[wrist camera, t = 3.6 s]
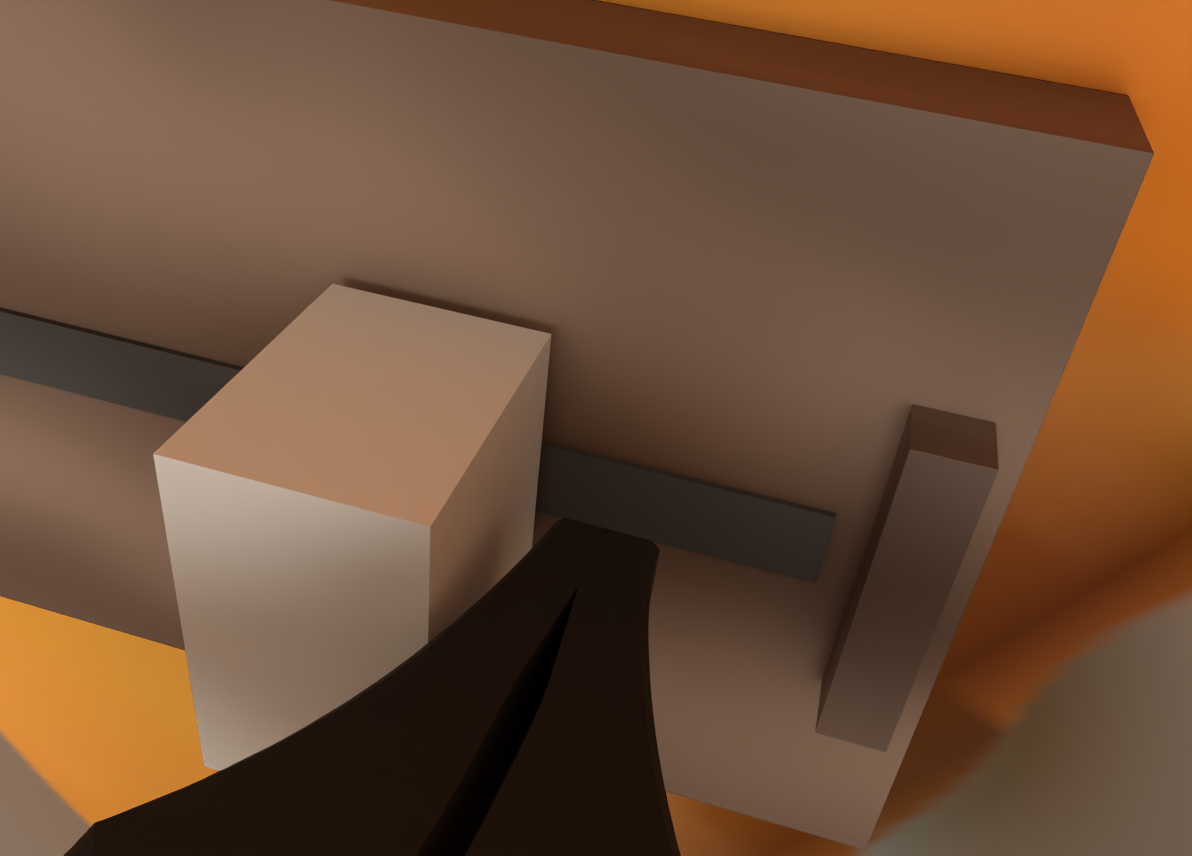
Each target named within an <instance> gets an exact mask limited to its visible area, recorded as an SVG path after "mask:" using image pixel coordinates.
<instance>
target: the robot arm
mask: <svg viewBox="0 0 1192 856" xmlns="http://www.w3.org/2000/svg"><path fill="white" fill-rule="evenodd" d="M659 553H660V550H659V548H658V547H657V546H656V544H655V543H654V542H653V541H652V540H648V539H645V538H641V537H637V536H633V535H629V534H625V533H622V532H618V531H614V530H610V529H606V528H602V527H599V526H595V525H591V524H587V523H583V522H579V521H576V520H572V519H568V518H563V519H561V520H559V521H557V522H555V523H554V524H553V525H552V526H551V528H550V529H549V530H548V531H547V532H546V533H545V535H544V536H543V537H542V538H541V539H540V540H539V541H538V542H537V543H536V544H535V546H534V547H533V548H532V549H531V550H530V551H529V552H528V553H527V554H526V555H525V556H524V557H523V558H522V559H521V560H520V561H519V562H518V563H517V564H516V565H515V566H514V567H513V568H512V569H511V570H510V571H509V572H508V573H507V574H506V575H505V576H504V577H503V578H502V579H501V580H500V581H499V582H498V583H497V584H496V585H495V586H493V587H492V588H491V589H490V590H489V591H488V592H487V593H486V594H485V595H484V596H482V597H481V598H480V599H479V600H478V601H477V602H476V603H475V604H474V605H473V606H472V607H470V608H469V609H468V610H467V611H466V612H465V613H464V614H463V615H461V616H460V617H459V618H458V619H457V620H456V621H455V622H453V623H452V624H451V625H450V626H448V627H447V628H446V629H445V630H443V631H442V632H441V633H440V634H438V635H437V636H436V637H435V638H433V639H432V640H431V641H430V642H428V643H427V644H426V645H425V646H424V647H422V648H421V649H420V650H419V651H417V652H416V653H415V654H414V655H412V656H411V657H410V658H408V659H407V660H406V661H404V662H403V663H402V664H400V665H399V666H398V667H396V668H395V669H393V670H392V671H391V672H389V673H388V674H387V675H385V676H384V677H382V678H381V679H379V680H378V681H377V682H375V683H374V684H372V685H371V686H369V687H368V688H366V689H365V690H363V691H362V692H360V693H359V694H357V695H356V696H354V697H353V698H351V699H350V700H348V701H347V702H345V703H343V704H342V705H340V706H338V707H337V708H335V709H333V710H332V711H330V712H329V713H327V714H325V715H324V716H322V717H320V718H319V719H317V720H315V721H314V722H312V723H310V724H309V725H307V726H305V727H304V728H302V729H300V730H298V731H297V732H295V733H293V734H291V735H290V736H288V737H286V738H284V739H282V740H281V741H279V742H277V743H275V744H273V745H271V746H269V747H267V748H265V749H263V750H261V751H259V752H257V753H255V754H253V755H251V756H249V757H247V758H245V759H243V760H241V761H239V762H237V763H235V764H233V765H231V766H229V767H227V768H225V769H223V770H221V771H219V772H217V773H215V774H213V775H211V776H209V777H206V778H204V779H202V780H200V781H198V782H196V783H193V784H191V785H189V786H187V787H184V788H182V789H180V790H177V791H175V792H172V793H170V794H167V795H165V796H162V797H160V798H157V799H155V800H152V801H150V802H147V803H145V804H142V805H140V806H137V807H135V808H132V809H130V810H127V811H125V812H123V813H120V814H118V815H115V816H113V817H110V818H107V819H104V820H101V821H99V822H96V823H94V824H93V825H92V826H91V827H90V828H89V830H88V831H87V832H86V833H85V834H84V835H83V836H82V837H81V838H80V839H79V840H78V841H77V842H76V844H75V845H74V846H73V847H72V848H71V849H70V850H69V851H68V852H66V853H65V855H64V856H681V855H680V852H679V848H678V844H677V841H676V837H675V832H674V828H673V823H672V819H671V815H670V810H669V806H668V801H667V796H666V791H665V786H664V781H663V775H662V770H661V764H660V758H659V752H658V745H657V739H656V731H655V723H654V714H653V706H652V695H651V683H650V664H649V640H648V635H649V605H650V600H651V595H652V589H653V584H654V579H655V574H656V568H657V563H658V558H659Z"/></svg>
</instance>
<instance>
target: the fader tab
mask: <svg viewBox="0 0 1192 856" xmlns="http://www.w3.org/2000/svg"><path fill="white" fill-rule="evenodd" d="M550 344H551V334H549V333H545V332H541V331H536V330H532V329H528V328H523V327H519V326H514V325H510V324H506V323H501V322H497V321H493V320H488V319H484V318H480V317H475V316H471V315H467V314H462V313H458V312H454V311H449V310H445V309H441V308H436V307H432V306H427V305H423V304H419V303H414V302H410V301H406V300H401V299H397V298H393V297H388V296H384V295H380V294H375V293H371V292H367V291H362V290H358V289H353V288H349V287H345V286H340V285H336V284H332V285H331V286H330V287H328V288H327V289H326V290H325V291H324V292H323V293H322V294H321V295H320V296H319V297H318V298H317V299H316V300H315V301H314V302H313V303H312V304H311V305H309V306H308V307H307V308H306V309H305V310H304V311H303V312H302V313H301V314H300V315H299V316H298V317H297V318H296V319H295V320H294V321H293V322H292V323H291V324H289V325H288V326H287V327H286V328H285V329H284V330H283V331H282V332H281V333H280V334H279V335H278V336H277V337H276V338H275V339H274V340H273V341H272V342H270V343H269V344H268V345H267V346H266V347H265V348H264V349H263V350H262V351H261V352H260V353H259V354H258V355H257V356H256V357H255V358H254V359H253V360H251V361H250V362H249V363H248V364H247V365H246V366H245V367H244V368H243V369H242V370H241V371H240V372H239V373H238V374H237V375H236V376H235V377H234V378H233V379H231V380H230V381H229V382H228V383H227V384H226V385H225V386H224V387H223V388H222V389H221V390H220V391H219V392H218V393H217V394H216V395H215V396H214V397H212V398H211V399H210V400H209V401H208V402H207V403H206V404H205V405H204V406H203V407H202V408H201V409H200V410H199V411H198V412H197V413H196V414H195V415H193V416H192V417H191V418H190V419H189V420H188V421H187V422H186V423H185V424H184V425H183V426H182V427H181V428H180V429H179V430H178V431H177V432H176V433H175V434H173V435H172V436H171V437H170V438H169V439H168V440H167V441H166V442H165V443H164V444H163V445H162V446H161V447H160V448H159V449H158V450H157V451H156V452H154V453H153V456H154V462H155V468H156V475H157V481H158V487H159V493H160V499H161V505H162V511H163V517H164V523H165V529H166V536H167V542H168V548H169V554H170V560H171V566H172V572H173V578H174V584H175V591H176V597H177V603H178V609H179V615H180V621H181V627H182V633H183V639H184V645H185V652H186V658H187V664H188V670H189V676H190V682H191V688H192V694H193V700H194V707H195V713H196V719H197V725H198V731H199V737H200V743H201V749H202V755H203V761H204V766H205V767H208V768H212V769H215V770H218V771H221V770H223V769H225V768H227V767H229V766H231V765H233V764H235V763H237V762H239V761H241V760H243V759H245V758H247V757H249V756H251V755H253V754H255V753H257V752H259V751H261V750H263V749H265V748H267V747H269V746H271V745H273V744H275V743H277V742H279V741H281V740H282V739H284V738H286V737H288V736H290V735H291V734H293V733H295V732H297V731H298V730H300V729H302V728H304V727H305V726H307V725H309V724H310V723H312V722H314V721H315V720H317V719H319V718H320V717H322V716H324V715H325V714H327V713H329V712H330V711H332V710H333V709H335V708H337V707H338V706H340V705H342V704H343V703H345V702H347V701H348V700H350V699H351V698H353V697H354V696H356V695H357V694H359V693H360V692H362V691H363V690H365V689H366V688H368V687H369V686H371V685H372V684H374V683H375V682H377V681H378V680H379V679H381V678H382V677H384V676H385V675H387V674H388V673H389V672H391V671H392V670H393V669H395V668H396V667H398V666H399V665H400V664H402V663H403V662H404V661H406V660H407V659H408V658H410V657H411V656H412V655H414V654H415V653H416V652H417V651H419V650H420V649H421V648H422V647H424V646H425V645H426V644H427V643H428V642H430V641H431V640H432V639H433V638H435V637H436V636H437V635H438V634H440V633H441V632H442V631H443V630H445V629H446V628H447V627H448V626H450V625H451V624H452V623H453V622H455V621H456V620H457V619H458V618H459V617H460V616H461V615H463V614H464V613H465V612H466V611H467V610H468V609H469V608H470V607H472V606H473V605H474V604H475V603H476V602H477V601H478V600H479V599H480V598H481V597H482V596H484V595H485V594H486V593H487V592H488V591H489V590H490V589H491V588H492V587H493V586H495V585H496V584H497V583H498V582H499V581H500V580H501V579H502V578H503V577H504V576H505V575H506V574H507V573H508V572H509V571H510V570H511V569H512V568H513V567H514V566H515V565H516V564H517V563H518V562H519V561H520V560H521V559H522V558H523V557H524V556H525V555H526V554H527V553H528V552H529V551H530V550H531V549H532V540H533V529H534V518H535V508H536V497H537V486H538V475H539V464H540V453H541V442H542V431H543V421H544V410H545V399H546V388H547V377H548V366H549V355H550Z"/></svg>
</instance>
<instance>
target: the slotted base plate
mask: <svg viewBox="0 0 1192 856" xmlns="http://www.w3.org/2000/svg"><path fill="white" fill-rule="evenodd" d="M1153 155H1154V152H1153V150H1152V148H1151V146H1150V143H1149V141H1148V139H1147V137H1146V134H1145V132H1144V130H1143V128H1142V125H1141V123H1140V121H1139V119H1138V116H1137V114H1136V112H1135V109H1134V107H1133V105H1132V103H1131V100H1130V98H1129V96H1127V95H1121V94H1115V93H1110V92H1104V91H1099V90H1093V89H1087V88H1082V87H1076V86H1071V85H1065V84H1059V83H1054V82H1048V81H1043V80H1037V79H1031V78H1026V77H1020V76H1015V75H1009V74H1003V73H998V72H992V71H987V70H981V69H975V68H970V67H964V66H959V65H953V64H947V63H942V62H936V61H931V60H925V59H919V58H914V57H908V56H903V55H897V54H891V53H886V52H880V51H875V50H869V49H863V48H858V47H852V46H847V45H841V44H835V43H830V42H824V41H819V40H813V39H807V38H802V37H796V36H791V35H785V34H779V33H774V32H768V31H763V30H757V29H751V28H746V27H740V26H735V25H729V24H723V23H718V22H712V21H707V20H701V19H695V18H690V17H684V16H679V15H673V14H667V13H662V12H656V11H651V10H645V9H639V8H634V7H628V6H623V5H617V4H611V3H606V2H600V1H595V0H0V596H2V597H5V598H8V599H12V600H15V601H19V602H22V603H25V604H29V605H32V606H36V607H39V608H42V609H46V610H49V611H53V612H56V613H59V614H63V615H66V616H70V617H73V618H77V619H80V620H83V621H87V622H90V623H94V624H97V625H100V626H104V627H107V628H111V629H114V630H117V631H121V632H124V633H128V634H131V635H134V636H138V637H141V638H145V639H148V640H151V641H155V642H158V643H162V644H165V645H169V646H172V647H175V648H179V649H182V650H185V645H184V639H183V633H182V627H181V621H180V615H179V609H178V603H177V597H176V591H175V584H174V578H173V572H172V566H171V560H170V554H169V548H168V542H167V536H166V529H165V523H164V517H163V511H162V505H161V499H160V493H159V487H158V481H157V475H156V468H155V462H154V456H153V453H154V452H156V451H157V450H158V449H159V448H160V447H161V446H162V445H163V444H164V443H165V442H166V441H167V440H168V439H169V438H170V437H171V436H172V435H173V434H175V433H176V432H177V431H178V430H179V429H180V428H181V427H182V426H183V425H184V424H185V423H186V422H187V421H188V420H189V419H190V418H191V417H192V416H193V415H195V414H196V413H197V412H198V411H199V410H200V409H201V408H202V407H203V406H204V405H205V404H206V403H207V402H208V401H209V400H210V399H211V398H212V397H214V396H215V395H216V394H217V393H218V392H219V391H220V390H221V389H222V388H223V387H224V386H225V385H226V384H227V383H228V382H229V381H230V380H231V379H233V378H234V377H235V376H236V375H237V374H238V373H239V372H240V371H241V370H242V369H243V368H244V367H245V366H246V365H247V364H248V363H249V362H250V361H251V360H253V359H254V358H255V357H256V356H257V355H258V354H259V353H260V352H261V351H262V350H263V349H264V348H265V347H266V346H267V345H268V344H269V343H270V342H272V341H273V340H274V339H275V338H276V337H277V336H278V335H279V334H280V333H281V332H282V331H283V330H284V329H285V328H286V327H287V326H288V325H289V324H291V323H292V322H293V321H294V320H295V319H296V318H297V317H298V316H299V315H300V314H301V313H302V312H303V311H304V310H305V309H306V308H307V307H308V306H309V305H311V304H312V303H313V302H314V301H315V300H316V299H317V298H318V297H319V296H320V295H321V294H322V293H323V292H324V291H325V290H326V289H327V288H328V287H330V286H331V285H332V284H336V285H340V286H345V287H349V288H353V289H358V290H362V291H367V292H371V293H375V294H380V295H384V296H388V297H393V298H397V299H401V300H406V301H410V302H414V303H419V304H423V305H427V306H432V307H436V308H441V309H445V310H449V311H454V312H458V313H462V314H467V315H471V316H475V317H480V318H484V319H488V320H493V321H497V322H501V323H506V324H510V325H514V326H519V327H523V328H528V329H532V330H536V331H541V332H545V333H549V334H551V344H550V355H549V366H548V377H547V388H546V399H545V410H544V421H543V431H542V442H541V453H540V464H539V475H538V486H537V497H536V508H535V518H534V529H533V540H532V548H533V547H534V546H535V544H536V543H537V542H538V541H539V540H540V539H541V538H542V537H543V536H544V535H545V533H546V532H547V531H548V530H549V529H550V528H551V526H552V525H553V524H554V523H555V522H557V521H559V520H561V519H563V518H568V519H572V520H576V521H579V522H583V523H587V524H591V525H595V526H599V527H602V528H606V529H610V530H614V531H618V532H622V533H625V534H629V535H633V536H637V537H641V538H645V539H648V540H652V541H653V542H654V543H655V544H656V546H657V547H658V548H659V550H660V553H659V558H658V563H657V568H656V574H655V579H654V584H653V589H652V595H651V600H650V605H649V635H648V640H649V664H650V683H651V695H652V706H653V714H654V723H655V731H656V739H657V745H658V752H659V758H660V764H661V770H662V775H663V781H664V786H665V791H666V792H669V793H673V794H676V795H680V796H683V797H686V798H690V799H693V800H697V801H700V802H704V803H707V804H710V805H714V806H717V807H721V808H724V809H727V810H731V811H734V812H738V813H741V814H744V815H748V816H751V817H755V818H758V819H761V820H765V821H768V822H772V823H775V824H778V825H782V826H785V827H789V828H792V829H796V830H799V831H802V832H806V833H809V834H813V835H816V836H819V837H823V838H826V839H830V840H833V841H836V842H840V843H843V844H847V845H850V846H853V847H857V848H860V849H864V850H865V849H866V847H867V844H868V842H869V839H870V837H871V835H872V832H873V830H874V827H875V825H876V823H877V820H878V818H879V815H880V813H881V810H882V808H883V806H884V803H885V801H886V798H887V796H888V794H889V791H890V789H891V786H892V784H893V782H894V779H895V777H896V774H897V772H898V770H899V767H900V765H901V762H902V760H903V757H904V755H905V753H906V750H907V748H908V745H909V743H910V741H911V738H912V736H913V733H914V731H915V729H916V726H917V724H918V721H919V719H920V716H921V714H922V712H923V709H924V707H925V704H926V702H927V700H928V697H929V695H930V692H931V690H932V688H933V685H934V683H935V680H936V678H937V676H938V673H939V671H940V668H941V666H942V663H943V661H944V659H945V656H946V654H947V651H948V649H949V647H950V644H951V642H952V639H953V637H954V635H955V632H956V630H957V627H958V625H959V622H960V620H961V618H962V615H963V613H964V610H965V608H966V606H967V603H968V601H969V598H970V596H971V594H972V591H973V589H974V586H975V584H976V581H977V579H978V577H979V574H980V572H981V569H982V567H983V565H984V562H985V560H986V557H987V555H988V553H989V550H990V548H991V545H992V543H993V541H994V538H995V536H996V533H997V531H998V528H999V526H1000V524H1001V521H1002V519H1003V516H1004V514H1005V512H1006V509H1007V507H1008V504H1009V502H1010V500H1011V497H1012V495H1013V492H1014V490H1015V487H1016V485H1017V483H1018V480H1019V478H1020V475H1021V473H1022V471H1023V468H1024V466H1025V463H1026V461H1027V459H1028V456H1029V454H1030V451H1031V449H1032V447H1033V444H1034V442H1035V439H1036V437H1037V434H1038V432H1039V430H1040V427H1041V425H1042V422H1043V420H1044V418H1045V415H1046V413H1047V410H1048V408H1049V406H1050V403H1051V401H1052V398H1053V396H1054V393H1055V391H1056V389H1057V386H1058V384H1059V381H1060V379H1061V377H1062V374H1063V372H1064V369H1065V367H1066V365H1067V362H1068V360H1069V357H1070V355H1071V352H1072V350H1073V348H1074V345H1075V343H1076V340H1077V338H1078V336H1079V333H1080V331H1081V328H1082V326H1083V324H1084V321H1085V319H1086V316H1087V314H1088V312H1089V309H1090V307H1091V304H1092V302H1093V299H1094V297H1095V295H1096V292H1097V290H1098V287H1099V285H1100V283H1101V280H1102V278H1103V275H1104V273H1105V271H1106V268H1107V266H1108V263H1109V261H1110V258H1111V256H1112V254H1113V251H1114V249H1115V246H1116V244H1117V242H1118V239H1119V237H1120V234H1121V232H1122V230H1123V227H1124V225H1125V222H1126V220H1127V218H1128V215H1129V213H1130V210H1131V208H1132V205H1133V203H1134V201H1135V198H1136V196H1137V193H1138V191H1139V189H1140V186H1141V184H1142V181H1143V179H1144V177H1145V174H1146V172H1147V169H1148V167H1149V164H1150V162H1151V160H1152V157H1153Z"/></svg>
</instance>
